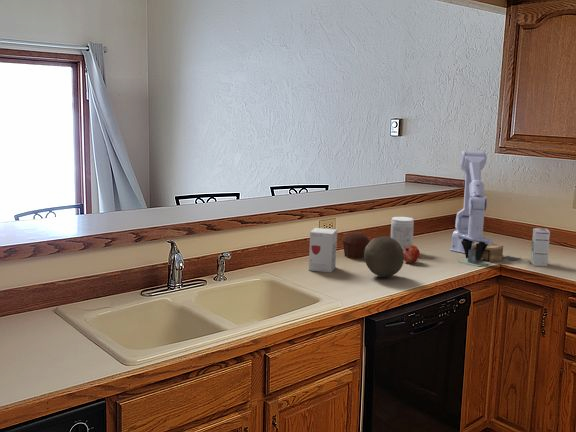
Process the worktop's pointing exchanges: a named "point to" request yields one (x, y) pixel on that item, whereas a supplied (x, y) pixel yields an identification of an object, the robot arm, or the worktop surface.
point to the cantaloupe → (384, 256)
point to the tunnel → (493, 252)
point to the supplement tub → (402, 230)
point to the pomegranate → (411, 254)
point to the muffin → (355, 245)
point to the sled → (473, 254)
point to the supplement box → (322, 249)
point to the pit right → (510, 258)
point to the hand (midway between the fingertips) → (473, 259)
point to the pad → (474, 263)
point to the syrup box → (540, 247)
